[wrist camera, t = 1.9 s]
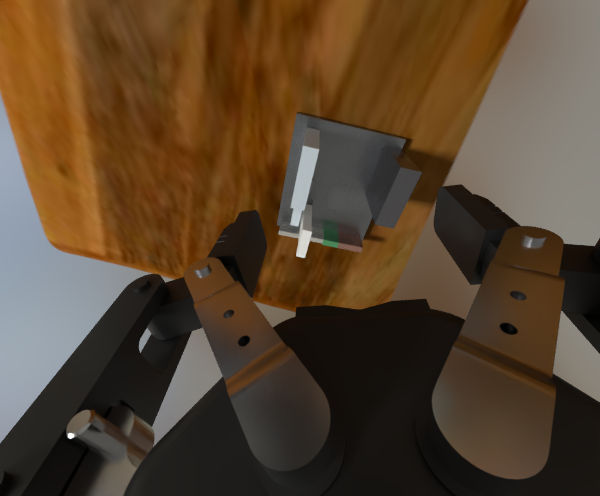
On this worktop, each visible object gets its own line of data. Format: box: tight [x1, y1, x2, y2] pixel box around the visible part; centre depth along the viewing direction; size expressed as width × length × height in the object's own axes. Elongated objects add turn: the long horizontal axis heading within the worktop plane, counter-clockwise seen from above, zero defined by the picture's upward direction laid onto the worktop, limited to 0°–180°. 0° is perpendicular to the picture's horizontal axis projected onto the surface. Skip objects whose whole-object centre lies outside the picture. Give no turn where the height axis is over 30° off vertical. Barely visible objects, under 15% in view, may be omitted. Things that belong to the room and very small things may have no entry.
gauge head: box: [290, 127, 320, 226], centre depth 28 cm, size 1×10×7 cm, turn 168°
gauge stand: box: [277, 112, 422, 252], centre depth 29 cm, size 12×14×8 cm
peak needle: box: [296, 204, 312, 258], centre depth 31 cm, size 1×4×7 cm, turn 168°
